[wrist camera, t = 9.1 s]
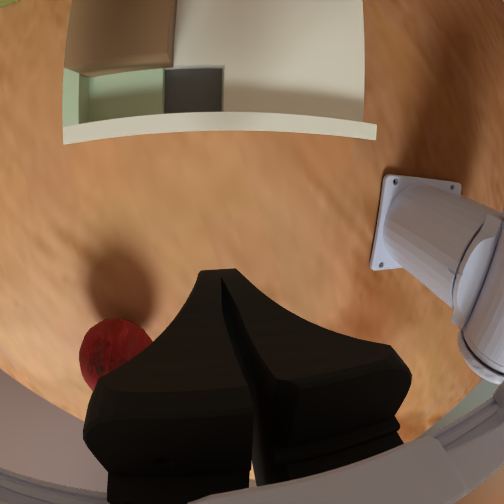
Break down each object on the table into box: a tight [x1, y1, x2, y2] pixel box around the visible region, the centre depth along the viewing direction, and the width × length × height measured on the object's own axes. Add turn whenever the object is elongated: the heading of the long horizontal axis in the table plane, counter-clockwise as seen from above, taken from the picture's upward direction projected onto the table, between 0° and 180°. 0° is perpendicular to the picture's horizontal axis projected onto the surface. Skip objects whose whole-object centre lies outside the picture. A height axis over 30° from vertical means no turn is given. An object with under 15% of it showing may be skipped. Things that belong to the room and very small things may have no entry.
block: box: [64, 0, 178, 78], centre depth 11 cm, size 5×5×4 cm
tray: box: [63, 0, 377, 145], centre depth 13 cm, size 18×13×3 cm
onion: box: [79, 318, 153, 391], centre depth 18 cm, size 6×6×8 cm
